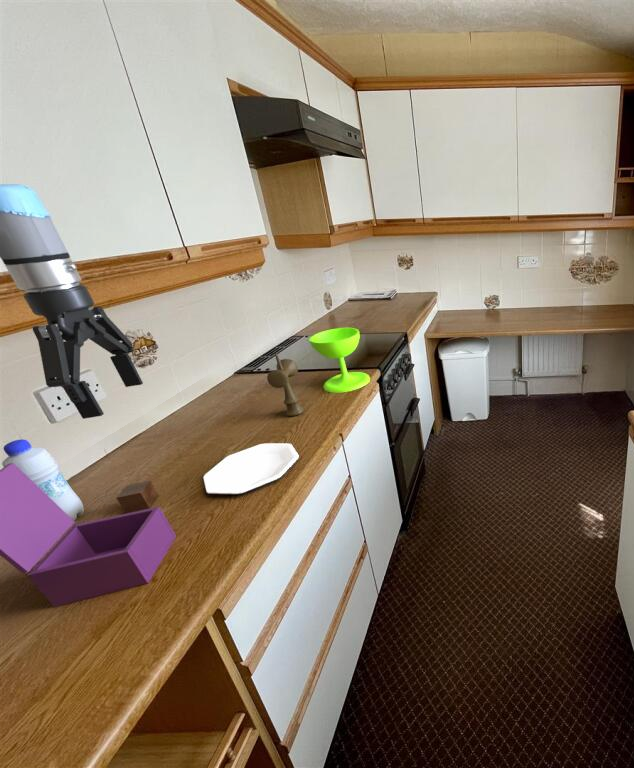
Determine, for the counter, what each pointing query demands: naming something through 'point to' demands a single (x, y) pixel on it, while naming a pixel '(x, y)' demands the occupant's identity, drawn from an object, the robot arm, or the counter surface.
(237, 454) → the plate
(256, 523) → the counter surface
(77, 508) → the bottle
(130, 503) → the block
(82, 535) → the purple hinged box
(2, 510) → the lid
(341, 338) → the wineglass
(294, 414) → the kendama
